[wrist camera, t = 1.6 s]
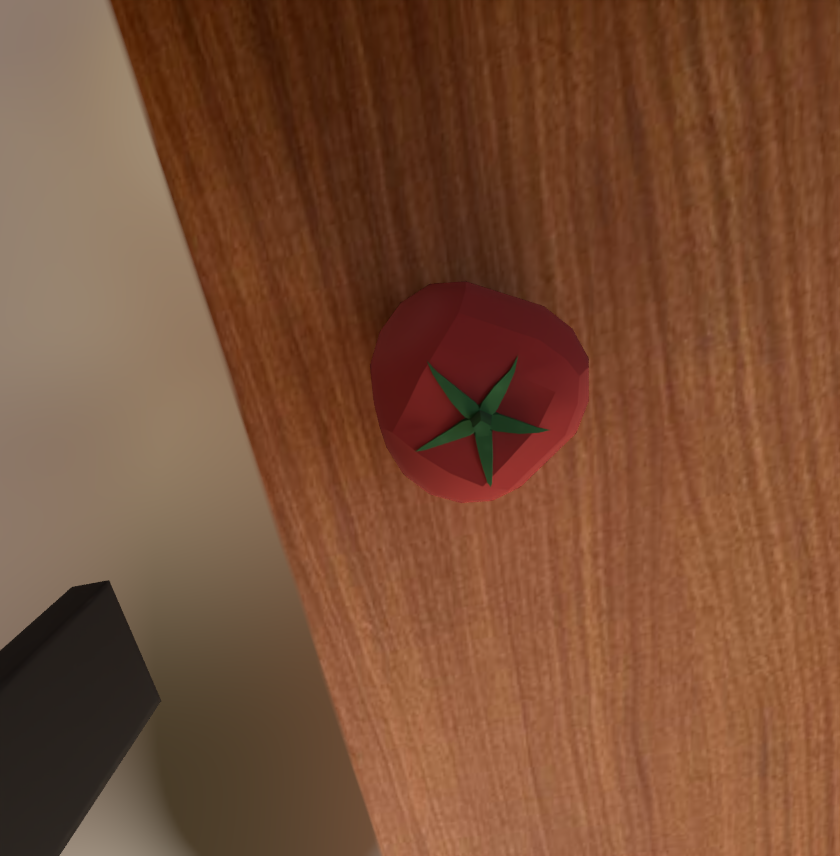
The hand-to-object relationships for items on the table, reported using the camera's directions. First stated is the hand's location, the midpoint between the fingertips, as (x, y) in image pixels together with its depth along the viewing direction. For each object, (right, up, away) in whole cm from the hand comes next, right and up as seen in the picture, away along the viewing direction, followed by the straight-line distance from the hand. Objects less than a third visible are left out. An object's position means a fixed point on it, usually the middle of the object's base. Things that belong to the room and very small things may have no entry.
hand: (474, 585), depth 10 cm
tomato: (+1, +5, +15) cm, 16 cm away
